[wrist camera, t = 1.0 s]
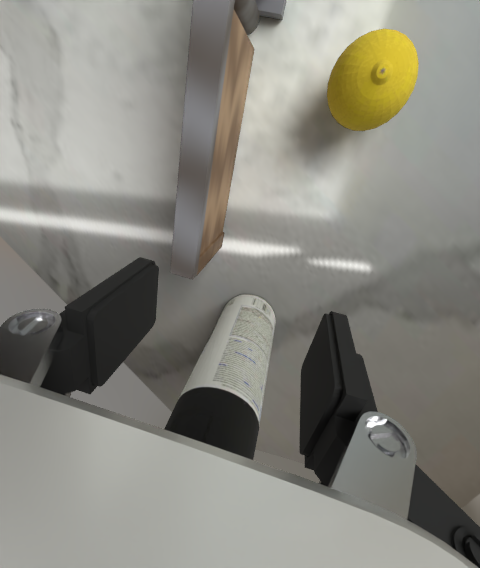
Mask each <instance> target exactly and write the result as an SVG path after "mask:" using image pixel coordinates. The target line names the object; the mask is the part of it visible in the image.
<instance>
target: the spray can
mask: <svg viewBox="0 0 480 568" xmlns="http://www.w3.org/2000/svg"><path fill="white" fill-rule="evenodd" d="M274 329H275V315H274V312H273V310H272V308H271V306H270V305H269V304H268V303H267V302H266V301H265V300H264V299H263V298H261V297H258V296H254V295H239V296H237V297H235V298H233V299H232V300H230V301H229V302H228V303H227V304H226V306H225V307H224V309H223V311H222V313H221V315H220V317H219V319H218V321H217V323H216V326H215V328H214V330H213V332H212V334H211V336H210V338H209V340H208V342H207V344H206V346H205V348H204V350H203V352H202V354H201V356H200V357H199V359H198V361H197V363H196V365H195V367H194V369H193V371H192V373H191V375H190V377H189V379H188V381H187V383H186V385H185V387H184V389H183V391H182V393H181V395H180V397H179V399H178V402H177V403H176V406H175V408H174V410H173V412H172V414H171V416H170V418H169V421H168V423H167V425H166V427H165V430H167V431H170V432H173V433H176V434H179V435H182V436H185V437H188V438H191V439H194V440H197V441H199V442H202V443H205V444H208V445H211V446H214V447H217V448H220V449H222V450H225V451H228V452H231V453H234V454H237V455H240V456H242V457H245V458H248V459H251V460H253V457H254V452H255V447H256V441H257V436H258V431H259V423H260V417H261V410H262V404H263V398H264V391H265V385H266V379H267V373H268V366H269V360H270V354H271V347H272V341H273V335H274Z"/></svg>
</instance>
